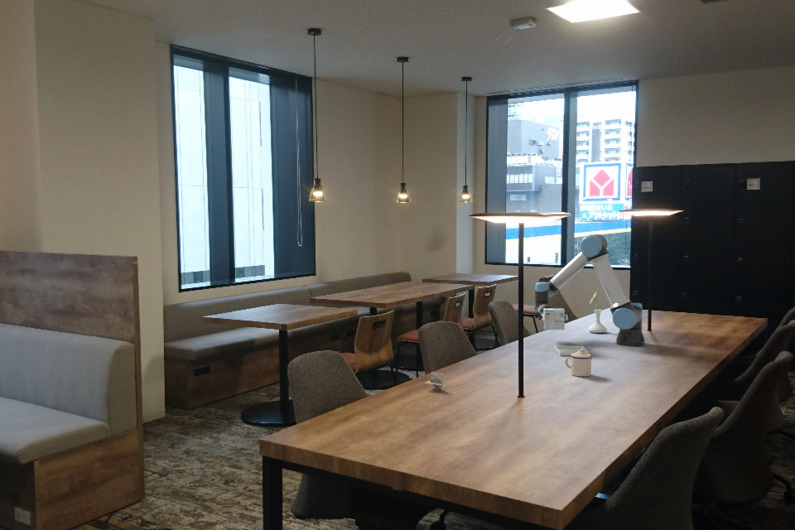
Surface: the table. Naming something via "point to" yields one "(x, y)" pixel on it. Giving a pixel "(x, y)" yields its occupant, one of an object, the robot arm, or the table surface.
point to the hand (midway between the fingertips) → (555, 317)
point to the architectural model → (436, 381)
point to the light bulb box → (554, 319)
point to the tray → (568, 350)
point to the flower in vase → (597, 320)
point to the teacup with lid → (580, 363)
